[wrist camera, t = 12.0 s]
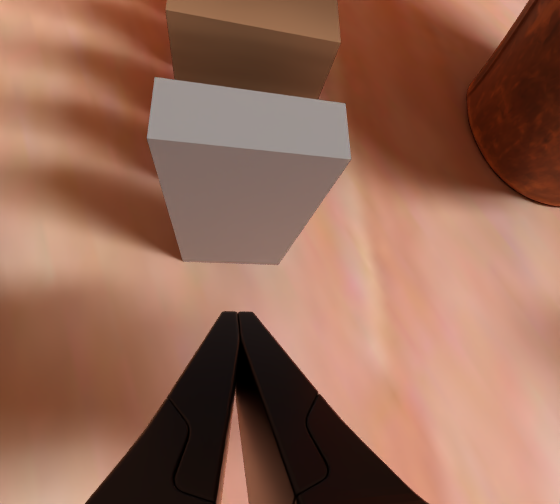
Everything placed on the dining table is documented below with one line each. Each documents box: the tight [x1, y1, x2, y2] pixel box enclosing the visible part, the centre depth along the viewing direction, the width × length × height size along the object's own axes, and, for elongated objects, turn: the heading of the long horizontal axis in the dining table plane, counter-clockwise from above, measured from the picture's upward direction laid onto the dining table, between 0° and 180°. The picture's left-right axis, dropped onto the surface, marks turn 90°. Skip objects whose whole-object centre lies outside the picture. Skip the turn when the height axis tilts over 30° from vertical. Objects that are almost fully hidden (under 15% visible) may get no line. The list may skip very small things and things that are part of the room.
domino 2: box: [166, 0, 341, 100], centre depth 14 cm, size 2×5×10 cm, turn 90°
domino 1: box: [147, 77, 351, 265], centre depth 13 cm, size 2×5×10 cm, turn 91°
